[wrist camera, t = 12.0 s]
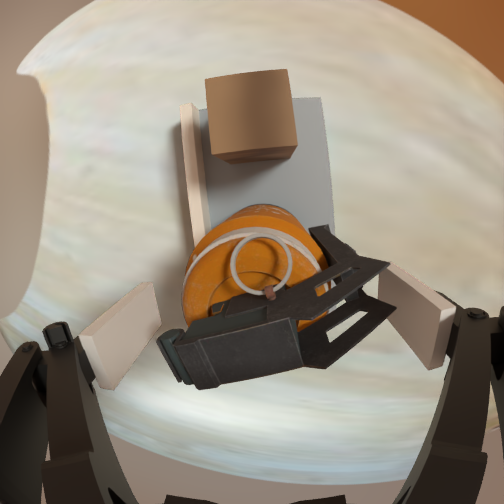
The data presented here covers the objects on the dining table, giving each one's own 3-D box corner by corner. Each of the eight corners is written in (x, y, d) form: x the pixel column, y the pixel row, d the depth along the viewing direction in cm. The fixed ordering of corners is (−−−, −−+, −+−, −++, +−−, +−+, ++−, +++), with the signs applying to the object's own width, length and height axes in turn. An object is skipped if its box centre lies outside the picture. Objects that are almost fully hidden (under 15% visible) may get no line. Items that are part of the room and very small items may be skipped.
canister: (208, 218, 28) (94, 282, 9) (311, 186, 27) (399, 184, 8) (237, 296, 30) (189, 444, 11) (334, 267, 29) (419, 392, 9)
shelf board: (215, 319, 32) (208, 336, 29) (189, 115, 27) (177, 105, 23) (334, 311, 31) (341, 327, 27) (318, 100, 26) (325, 88, 22)
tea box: (229, 164, 27) (209, 154, 18) (223, 110, 26) (202, 79, 17) (290, 158, 26) (297, 145, 18) (283, 103, 25) (287, 68, 16)
